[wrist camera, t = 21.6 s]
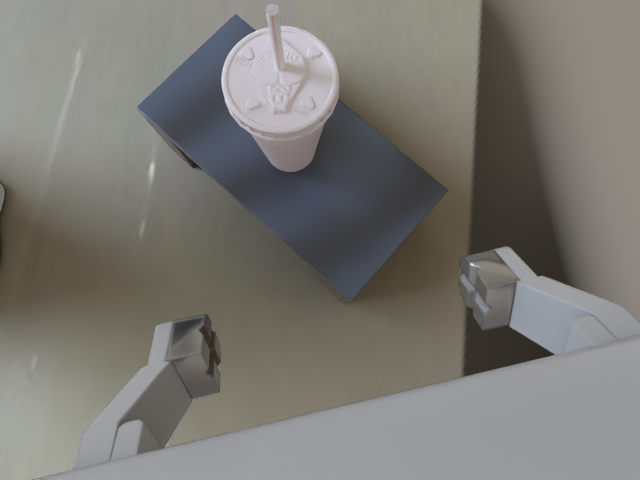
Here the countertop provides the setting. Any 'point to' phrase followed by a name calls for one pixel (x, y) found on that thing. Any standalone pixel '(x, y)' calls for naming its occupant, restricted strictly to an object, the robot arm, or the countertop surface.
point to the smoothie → (281, 90)
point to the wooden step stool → (298, 173)
